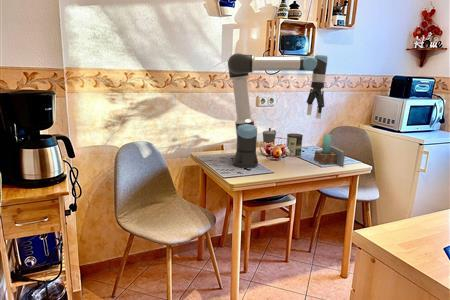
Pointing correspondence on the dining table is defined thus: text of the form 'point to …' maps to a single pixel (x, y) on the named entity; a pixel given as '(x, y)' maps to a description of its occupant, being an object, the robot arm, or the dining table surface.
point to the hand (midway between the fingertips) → (313, 116)
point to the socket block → (325, 157)
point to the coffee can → (294, 144)
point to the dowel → (326, 144)
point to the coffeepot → (269, 136)
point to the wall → (338, 155)
